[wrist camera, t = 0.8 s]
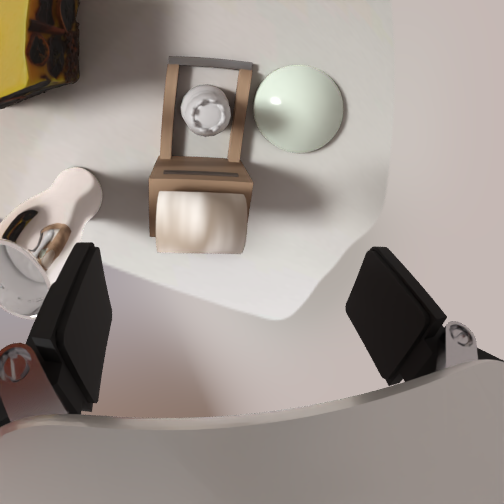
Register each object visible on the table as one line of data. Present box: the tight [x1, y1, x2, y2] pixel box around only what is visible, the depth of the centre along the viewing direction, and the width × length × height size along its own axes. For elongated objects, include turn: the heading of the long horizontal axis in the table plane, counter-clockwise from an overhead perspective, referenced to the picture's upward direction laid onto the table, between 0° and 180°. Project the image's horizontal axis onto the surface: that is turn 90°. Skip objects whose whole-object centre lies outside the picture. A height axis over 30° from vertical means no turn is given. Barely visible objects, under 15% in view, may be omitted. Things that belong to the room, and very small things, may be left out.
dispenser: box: [149, 56, 253, 254], centre depth 21 cm, size 15×8×11 cm, turn 172°
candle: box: [0, 0, 79, 109], centre depth 13 cm, size 10×10×10 cm
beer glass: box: [0, 167, 102, 319], centre depth 20 cm, size 7×7×15 cm
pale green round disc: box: [253, 65, 343, 153], centre depth 26 cm, size 9×9×1 cm
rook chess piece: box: [180, 84, 231, 137], centre depth 21 cm, size 4×4×8 cm
